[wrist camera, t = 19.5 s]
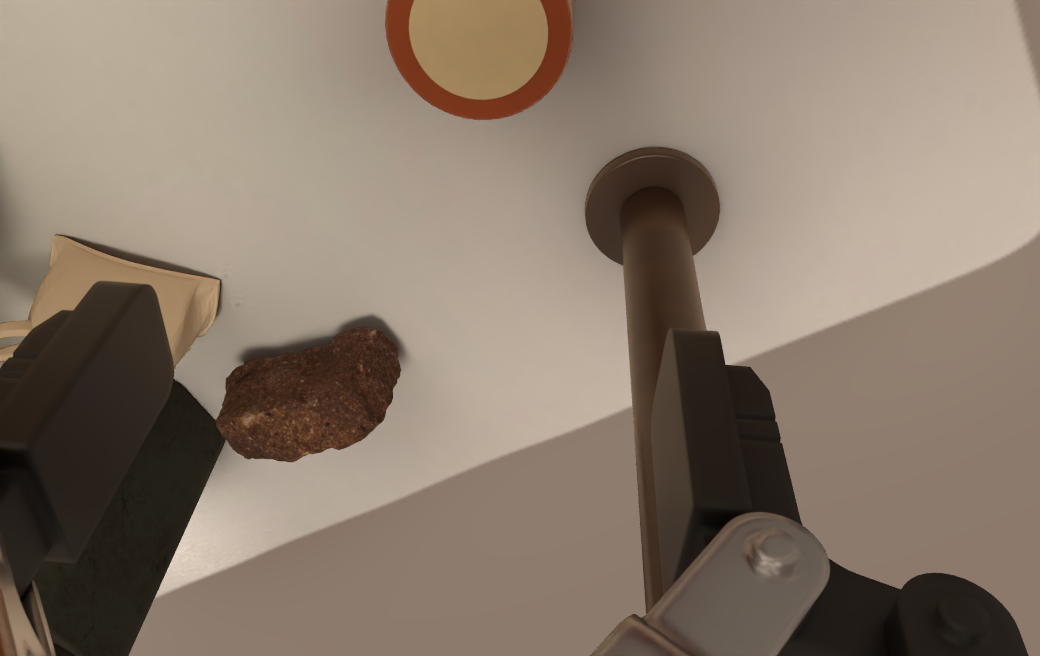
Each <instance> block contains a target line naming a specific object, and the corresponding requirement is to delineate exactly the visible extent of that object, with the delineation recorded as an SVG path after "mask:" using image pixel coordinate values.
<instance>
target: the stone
mask: <svg viewBox="0 0 1040 656" xmlns="http://www.w3.org/2000/svg"><path fill="white" fill-rule="evenodd" d="M400 371H401V368H400V364H399V361H398V350H397V347H396V345H395V343H394V342H392V341H391V340H390V339H388V338H387V337H386V336H385V334H384V333H383V332H382V331H380V330H375V329H370V328H366V327H361V328H358V329H352V330H349V331H344V332H342V333H340V334H338V335H336V336H335V337H334V342H333V343H331V344H328V345H320V346H317V347H312V348H309V349H307V350H304V351H301V352H299V353H285V354H283V355H280V356H275V357H273V358H266V357H264V358H254V359H252V360H250V361H247V362H245V363H244V365H241V366H239V367H237V368H236V369H234V370H233V371H232V373H231V375H230V376H228V377H227V378H226V395H225V398H224V402H223V404H222V406H223V408H222V409H221V411H220V414H219V416H218V417H217V419H216V426H217V428H218V429H219V430H220V432H221V434H222V436H223V437H224V438H225V439H226V440H227V441H228V443H229V444H230V446H231V447H232V448H233V450H234V451H236V452H237V453H238V454H241V455H243V456H244V458H247V459H251V458H254V459H274V460H277V461H287V462H294V461H297V460H298V459H300V458H301V457H303V456H306V455H308V454H315V453H321V452H323V451H324V450H326V449H329V448H334V449H337V450H340V449H343V448H346V447H348V446H351V445H353V444H354V443H356V442H359V441H361V440H362V439H364V438H365V437H366V436H367V435H368V434H369V433H370V432H371V431H373V430H374V429H375V427H376V426H377V425H379V424H380V423H381V422H382V421H383V420H384V418H385V414H386V409H387V407H388V406H389V405H390V404H391V402H392V399H393V388H394V386H395V385H396V383H397V379H398V378H399V377H400Z"/></svg>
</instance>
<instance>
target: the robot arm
mask: <svg viewBox="0 0 1040 656" xmlns="http://www.w3.org/2000/svg"><path fill="white" fill-rule="evenodd" d="M173 378H174V363H173V357H172V353H171V349H170V345H169V341H168V337H167V333H166V329H165V325H164V321H163V317H162V313H161V309H160V305H159V301H158V297H157V294H156V292H155V290H154V288H153V287H152V286H151V285H149V284H139V283H127V282H114V281H98V282H96V283H95V284H94V285H93V286H92V287H91V288H90V289H89V291H88V292H87V293H86V295H85V296H84V297H83V298H82V300H81V301H80V302H79V304H78V305H77V306H76V307H75V309H74V310H73V311H72V310H61V311H59V312H58V313H56V314H55V315H53V316H52V317H50V318H49V319H47V320H45V321H44V322H42V323H41V324H39V325H38V326H36V327H35V328H33V329H32V330H31V331H30V332H29V334H28V335H27V336H26V337H25V338H24V340H23V341H22V342H21V343H20V345H19V346H18V347H17V348H16V349H15V351H14V352H13V357H9V358H8V359H7V360H6V362H5V363H4V364H3V365H2V367H1V368H0V656H56V653H55V649H54V645H53V642H52V638H51V635H50V631H49V628H48V624H47V620H46V617H45V613H44V610H43V606H42V603H41V599H40V595H39V592H38V589H37V586H36V584H35V582H34V580H33V578H34V576H35V574H36V573H37V571H38V569H39V568H40V566H41V564H42V563H43V561H52V562H63V563H75V564H76V562H77V560H78V558H79V557H80V555H81V553H82V551H83V549H84V548H85V546H86V544H87V542H88V541H89V539H90V537H91V535H92V533H93V532H94V530H95V528H96V526H97V524H98V523H99V521H100V519H101V517H102V516H103V514H104V512H105V510H106V508H107V507H108V505H109V503H110V501H111V499H112V498H113V496H114V494H115V492H116V491H117V489H118V487H119V485H120V483H121V482H122V480H123V478H124V476H125V475H126V473H127V471H128V469H129V467H130V466H131V464H132V462H133V460H134V458H135V457H136V455H137V453H138V451H139V450H140V448H141V446H142V444H143V442H144V441H145V439H146V437H147V435H148V433H149V432H150V430H151V428H152V426H153V425H154V423H155V421H156V419H157V417H158V416H159V414H160V412H161V410H162V408H163V407H164V405H165V403H166V401H167V399H168V397H169V395H170V392H171V389H172V384H173ZM780 439H781V437H780V433H779V429H778V425H777V422H775V412H774V408H773V404H772V400H771V396H770V392H769V390H768V389H767V387H766V386H765V385H764V384H763V382H762V381H761V380H760V379H759V377H758V376H757V375H756V374H755V373H754V371H753V370H752V369H751V367H745V366H733V365H725V360H724V355H723V350H722V344H721V339H720V335H719V333H718V332H717V331H707V330H694V329H682V328H669V330H668V333H667V336H666V341H665V346H664V351H663V356H662V361H661V366H660V371H659V376H658V381H657V386H656V391H655V396H654V402H653V409H652V419H651V444H652V457H653V470H654V483H655V496H656V509H657V522H658V535H659V548H660V560H661V573H662V586H663V597H662V598H661V599H660V600H659V601H658V602H657V604H656V605H655V606H654V607H653V608H652V609H651V610H650V611H649V612H648V613H647V614H646V615H645V616H644V617H642V618H640V617H639V616H637V615H636V614H632V615H630V616H628V617H627V618H625V619H624V620H623V621H622V622H621V623H619V624H618V626H616V628H615V629H614V630H613V631H612V632H611V633H610V634H609V635H608V636H607V637H606V639H605V640H604V641H603V642H602V643H601V644H600V645H599V646H598V647H597V649H596V650H595V651H594V652H593V653H592V654H591V655H590V656H1028V653H1027V650H1026V648H1025V645H1024V642H1023V640H1022V637H1021V634H1020V632H1019V629H1018V627H1017V625H1016V623H1015V621H1014V619H1013V618H1012V616H1011V615H1010V613H1009V612H1008V610H1007V609H1006V608H1005V607H1004V606H1003V605H1002V604H1001V603H1000V602H999V601H998V600H997V599H996V598H995V597H994V596H992V595H991V594H990V593H989V592H987V591H986V590H984V589H983V588H981V587H979V586H978V585H976V584H974V583H972V582H970V581H968V580H966V579H963V578H960V577H957V576H954V575H949V574H943V573H927V574H922V575H918V576H916V577H914V578H912V579H910V580H909V581H908V582H907V583H906V584H905V585H904V586H903V588H902V589H898V588H895V587H892V586H889V585H887V584H884V583H881V582H878V581H875V580H873V579H869V578H867V577H864V576H861V575H859V574H856V573H854V572H851V571H849V570H847V569H845V568H843V567H841V566H840V565H838V564H836V563H835V562H833V561H832V560H830V559H829V558H828V556H827V554H826V551H825V549H824V548H823V546H822V544H821V543H820V542H819V541H818V539H817V538H816V537H815V536H814V535H813V534H812V533H811V532H810V531H809V530H808V529H806V528H805V527H803V526H802V523H801V520H800V516H799V512H798V508H797V503H796V500H795V495H794V492H793V487H792V483H791V479H790V474H789V470H788V466H787V462H786V458H785V454H784V450H783V445H782V443H780Z"/></svg>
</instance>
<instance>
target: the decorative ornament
mask: <svg viewBox="0 0 1040 656" xmlns="http://www.w3.org/2000/svg"><path fill="white" fill-rule="evenodd" d="M98 281H114V282H127V283H139V284H149V285H151V286H152V287H153V288H154V290H155V292H156V294H157V297H158V301H159V305H160V309H161V313H162V317H163V321H164V325H165V329H166V333H167V337H168V341H169V345H170V349H171V353H172V357H173V363H174V368H175V366H176V364H177V363H178V362H179V361H180V360H181V359H182V358H183V356H184V355H185V354H186V352H188V351H190V347H191V345H192V344H193V342H194V341H195V339H196V337H200V336H203V335H205V333H206V332H207V330H208V329H209V328H210V327H211V326H212V324H213V322H214V319H215V317H216V314H217V308H218V300H219V293H220V280H216V279H212V278H206V277H200V276H195V275H189V274H184V273H178V272H173V271H168V270H164V269H159V268H155V267H150V266H146V265H142V264H137V263H133V262H129V261H126V260H123V259H119V258H116V257H113V256H110V255H107V254H104V253H102V252H99V251H96V250H94V249H91V248H89V247H87V246H84V245H82V244H80V243H77V242H75V241H73V240H71V239H69V238H66V237H64V236H59V235H55V237H54V239H53V243H52V248H51V256H50V271H49V272H48V274H47V275H46V276H45V278H44V280H43V282H42V284H41V285H40V287H39V289H38V291H37V294H36V296H35V299H34V301H33V304H32V307H31V310H30V313H29V318H28V321H11V322H5V323H0V338H4V337H16V336H22V337H26V336H27V335H28V334H29V332H30V331H31V330H32V329H33V328H35V327H36V326H38V325H39V324H41V323H42V322H44V321H45V320H47V319H49V318H50V317H52V316H53V315H55V314H56V313H58V312H59V311H61V310H72V311H73V310H74V309H75V307H76V306H77V305H78V304H79V302H80V301H81V300H82V298H83V297H84V296H85V295H86V293H87V292H88V291H89V289H90V288H91V287H92V286H93V285H94V284H95V283H96V282H98ZM19 345H20V343H19V344H15V345H11V346H8V347H2V348H0V361H6V360H7V359H8V358H9V357H13V352H14V351H15V349H16V348H17V347H18V346H19Z"/></svg>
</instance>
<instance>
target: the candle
mask: <svg viewBox="0 0 1040 656" xmlns="http://www.w3.org/2000/svg"><path fill="white" fill-rule="evenodd" d="M224 443H225V438H224V437H223V436H222V434H221V432H220V430H219V429H218V428H217V426H216V422H215V421H214V420H213V419H212V418H211V417H210V416H209V415H208V414H207V413H206V411H205V410H204V409H203V408H202V407H201V406H200V405H199V404H198V403H197V402H196V401H195V400H194V398H193V397H192V396H191V395H190V394H189V393H188V392H187V391H186V390H185V389H184V388H183V387H182V386H181V385H180V384H178V383H177V382H175V381H173V384H172V389H171V392H170V395H169V397H168V399H167V401H166V403H165V405H164V407H163V408H162V410H161V412H160V414H159V416H158V417H157V419H156V421H155V423H154V425H153V426H152V428H151V430H150V432H149V433H148V435H147V437H146V439H145V441H144V442H143V444H142V446H141V448H140V450H139V451H138V453H137V455H136V457H135V458H134V460H133V462H132V464H131V466H130V467H129V469H128V471H127V473H126V475H125V476H124V478H123V480H122V482H121V483H120V485H119V487H118V489H117V491H116V492H115V494H114V496H113V498H112V499H111V501H110V503H109V505H108V507H107V508H106V510H105V512H104V514H103V516H102V517H101V519H100V521H99V523H98V524H97V526H96V528H95V530H94V532H93V533H92V535H91V537H90V539H89V541H88V542H87V544H86V546H85V548H84V549H83V551H82V553H81V555H80V557H79V558H78V560H77V562H76V564H75V563H63V562H52V561H43V563H42V564H41V566H40V568H39V569H38V571H37V573H36V574H35V576H34V578H33V580H34V582H35V584H36V586H37V589H38V592H39V595H40V599H41V603H42V606H43V610H44V613H45V617H46V620H47V624H48V628H49V631H50V635H51V638H52V642H53V645H54V649H55V653H56V656H128V655H129V653H130V651H131V648H132V646H133V644H134V642H135V640H136V637H137V635H138V633H139V631H140V629H141V627H142V624H143V622H144V620H145V618H146V615H147V613H148V611H149V609H150V607H151V604H152V602H153V600H154V598H155V596H156V593H157V591H158V589H159V587H160V585H161V582H162V580H163V578H164V576H165V574H166V571H167V569H168V567H169V565H170V563H171V560H172V558H173V556H174V554H175V552H176V549H177V547H178V545H179V543H180V540H181V538H182V536H183V534H184V532H185V529H186V527H187V525H188V523H189V521H190V518H191V516H192V514H193V512H194V510H195V507H196V505H197V503H198V501H199V499H200V496H201V494H202V492H203V490H204V487H205V485H206V483H207V481H208V479H209V476H210V474H211V472H212V470H213V468H214V465H215V463H216V461H217V459H218V457H219V454H220V452H221V450H222V448H223V446H224Z"/></svg>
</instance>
